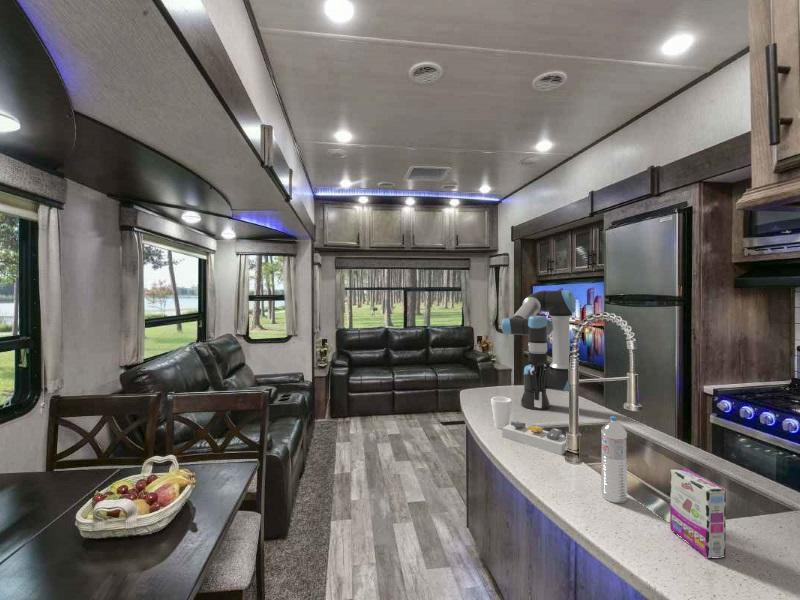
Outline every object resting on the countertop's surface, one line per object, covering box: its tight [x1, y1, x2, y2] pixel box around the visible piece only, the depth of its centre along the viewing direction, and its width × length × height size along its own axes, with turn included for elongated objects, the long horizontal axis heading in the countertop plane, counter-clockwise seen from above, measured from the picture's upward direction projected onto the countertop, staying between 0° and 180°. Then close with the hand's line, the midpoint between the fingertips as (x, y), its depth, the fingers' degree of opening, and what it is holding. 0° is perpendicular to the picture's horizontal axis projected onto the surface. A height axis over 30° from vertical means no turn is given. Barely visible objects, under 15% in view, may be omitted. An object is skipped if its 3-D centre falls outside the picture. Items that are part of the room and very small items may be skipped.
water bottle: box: [600, 415, 628, 504], centre depth 113 cm, size 7×7×25 cm
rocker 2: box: [547, 427, 563, 440], centre depth 150 cm, size 6×4×2 cm, turn 133°
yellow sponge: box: [527, 425, 544, 432], centre depth 156 cm, size 6×4×2 cm, turn 134°
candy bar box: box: [669, 468, 727, 559], centre depth 92 cm, size 11×5×16 cm, turn 5°
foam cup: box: [490, 396, 512, 430], centre depth 175 cm, size 10×9×13 cm
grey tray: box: [501, 423, 589, 458], centre depth 153 cm, size 10×34×5 cm, turn 43°
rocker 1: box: [510, 421, 526, 427], centre depth 162 cm, size 6×4×2 cm, turn 134°
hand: (538, 406), depth 158 cm, fingers closed
